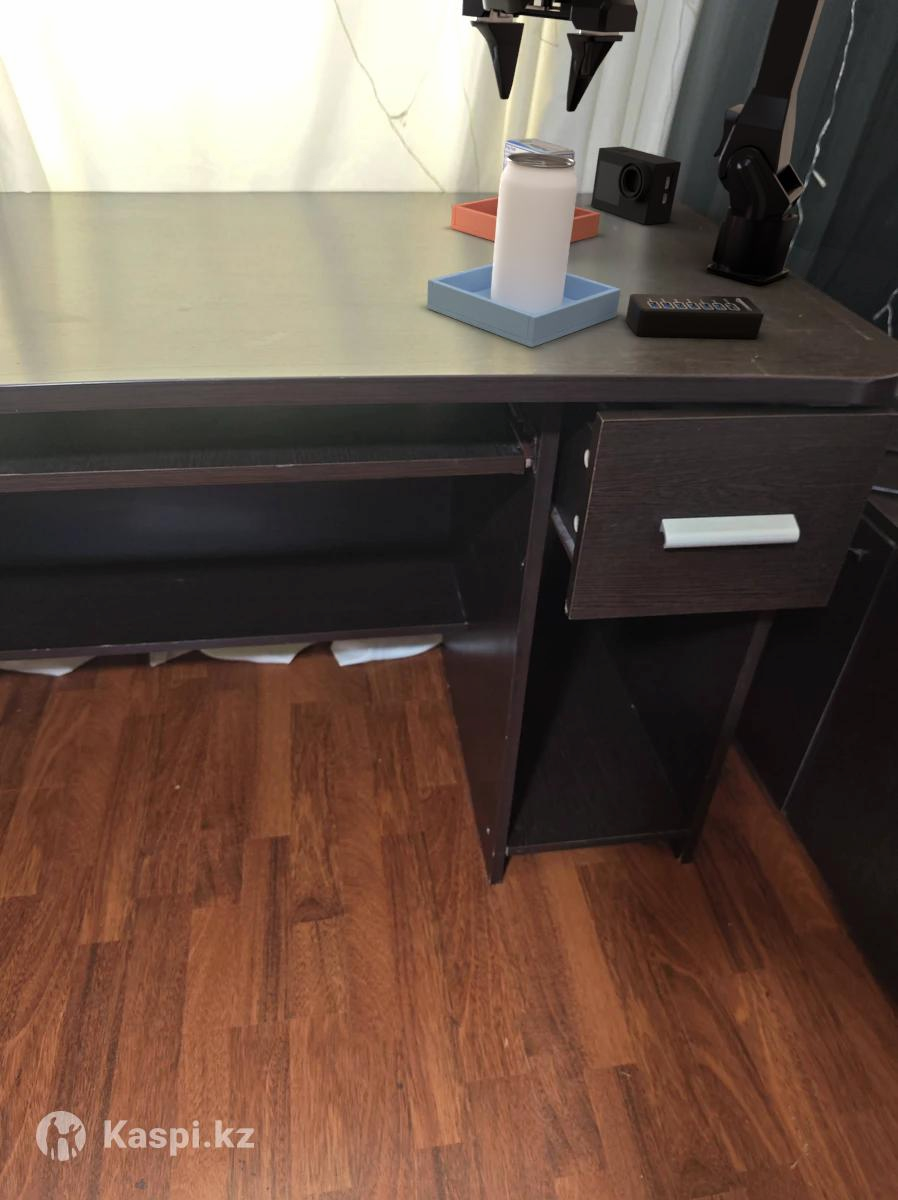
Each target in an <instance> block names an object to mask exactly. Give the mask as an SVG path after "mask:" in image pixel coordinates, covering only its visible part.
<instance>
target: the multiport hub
mask: <svg viewBox="0 0 898 1200" xmlns="http://www.w3.org/2000/svg"><path fill="white" fill-rule="evenodd" d="M764 315H765V312H764V311H763V310H762V308H760V307H759V306H758V305H756V304H755V303H754V302H753V301H752V300H751V299H750V298H748V297H745V296H725V295H724V296H723V295H722V296H721V295H693V294H692V295H691V294H690V295H689V294H687V295H686V294H658V293H657V294H650V293H631V294H630V295H629V298H628V305H627V309H626V316H625V322H626V323H627V324H628V326H629V327H630V329H631V331H632V332H633V333H634V335H636V336H638V337H642V338H643V337H646V338H647V337H648V338H649V337H650V338H651V337H652V338H686V339H687V338H688V339H689V338H690V339H691V338H692V339H732V340H734V339H735V340H757V339H758V338H759V334H760V330H761V326H762V322H763V318H764Z"/></svg>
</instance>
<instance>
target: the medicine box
mask: <svg viewBox="0 0 898 1200" xmlns="http://www.w3.org/2000/svg"><path fill="white" fill-rule="evenodd" d="M515 153H546V154H554V155H560V156H564V157H568V158H571V159H573V160H574V161H575V155H576V151H574V150H573V149H570V148H568V147H564V146H562V145H559V144H555V143H552V142H549V141H545V140H541V139H538V138H514V139H509V140H505V141H504V146H503V154H502V155H503V156H502V169H501V171H502V172H501V174H502V173H503V171H504V169H505V167H506V165H507V162H508V160H507V156H508V155H510V154H515Z"/></svg>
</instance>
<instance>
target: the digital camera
mask: <svg viewBox="0 0 898 1200" xmlns="http://www.w3.org/2000/svg"><path fill="white" fill-rule="evenodd" d="M597 153H598V154H597V160H596V165H595V166H596V168H595V174H594V181H593V189H592V196H591V202H590V206H591V207H594V208H595V209H599V210H600V211H603V212H608V213H609V214H613V215H615V216H617V217H618V216H619V217H622V218H624V219H626V220H630V221H633V222H636V223H639V224H642V225H645V226H648V225H655V224H663V223H669V222H670V220H671V216H672V210H673V206H674V201H675V195H676V190H677V186H678V180H679V175H680V171H681V165H682V162H681V161H678V160H675V159H671V158H668V157H665V156H660V155H657V154H653V153H650V152H646V151H642V150H639V149H634V148H632V147H627V146H623V145H621V146H607V147H599V148H598V152H597Z"/></svg>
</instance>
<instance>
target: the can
mask: <svg viewBox="0 0 898 1200" xmlns="http://www.w3.org/2000/svg"><path fill="white" fill-rule="evenodd" d="M507 160H508V162H507V165H506V167H505V169H504V171H503V173H502V172H501V175H500V179H499V188H498V196H497V197H498V209H497V220H496V233H495V242H494V244H493V245H494V246H493V258H492V263H493V270H492V283H491V300H494V301H497V302H500V303H503V304H506V305H508V306H511V307H514V308H517V309H520V310H523V311H525V312H528V313H531V314H533V315H534V314H537V313H540V312H543V311H546V310H549V309H552V308H555V307H558V306H561V305H562V299H563V293H564V285H565V278H566V272H567V270H568V262H569V255H570V247H571V243H570V241H571V233H572V226H573V218H574V210H575V207H576V202H577V194H578V178H577V175H576V172H575V166H576V161H575V159H574V160H573V159H571V158H568V157H564V156H560V155H554V154H546V153H515V154H510V155H508V156H507Z"/></svg>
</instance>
